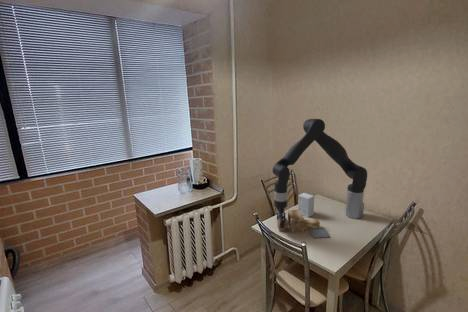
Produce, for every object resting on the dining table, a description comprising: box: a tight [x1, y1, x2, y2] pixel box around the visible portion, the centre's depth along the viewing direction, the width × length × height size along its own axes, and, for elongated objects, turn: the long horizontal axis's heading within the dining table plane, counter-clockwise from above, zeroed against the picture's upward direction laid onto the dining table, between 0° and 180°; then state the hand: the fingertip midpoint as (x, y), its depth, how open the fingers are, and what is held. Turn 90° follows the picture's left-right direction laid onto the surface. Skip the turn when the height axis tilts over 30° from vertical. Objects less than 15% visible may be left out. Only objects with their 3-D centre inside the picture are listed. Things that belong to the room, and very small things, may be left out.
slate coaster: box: [308, 227, 331, 239], centre depth 141 cm, size 9×9×1 cm
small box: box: [297, 192, 315, 218], centre depth 163 cm, size 8×6×13 cm
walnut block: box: [276, 217, 290, 233], centre depth 147 cm, size 6×6×6 cm
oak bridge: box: [287, 209, 305, 235], centre depth 147 cm, size 6×11×9 cm, turn 2°
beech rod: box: [290, 219, 321, 230], centre depth 148 cm, size 16×4×4 cm, turn 86°
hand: (280, 223), depth 147 cm, fingers open, 8 cm apart
